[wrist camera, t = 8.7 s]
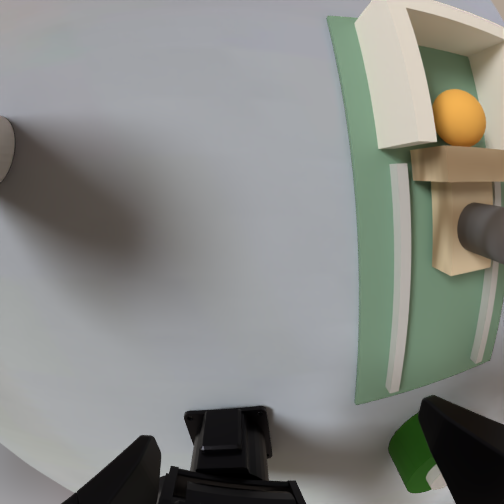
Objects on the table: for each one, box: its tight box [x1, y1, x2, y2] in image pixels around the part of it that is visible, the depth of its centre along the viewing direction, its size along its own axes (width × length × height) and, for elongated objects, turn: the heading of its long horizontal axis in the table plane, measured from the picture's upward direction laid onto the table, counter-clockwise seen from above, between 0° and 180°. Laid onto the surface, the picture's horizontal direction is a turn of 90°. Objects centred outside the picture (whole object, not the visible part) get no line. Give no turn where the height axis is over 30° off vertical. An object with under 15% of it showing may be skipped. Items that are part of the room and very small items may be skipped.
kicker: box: [410, 146, 504, 276], centre depth 14 cm, size 8×7×8 cm
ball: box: [432, 89, 486, 147], centre depth 15 cm, size 4×4×4 cm
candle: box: [388, 412, 447, 493], centre depth 19 cm, size 8×8×10 cm
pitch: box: [327, 0, 504, 405], centre depth 16 cm, size 29×15×5 cm, turn 7°
